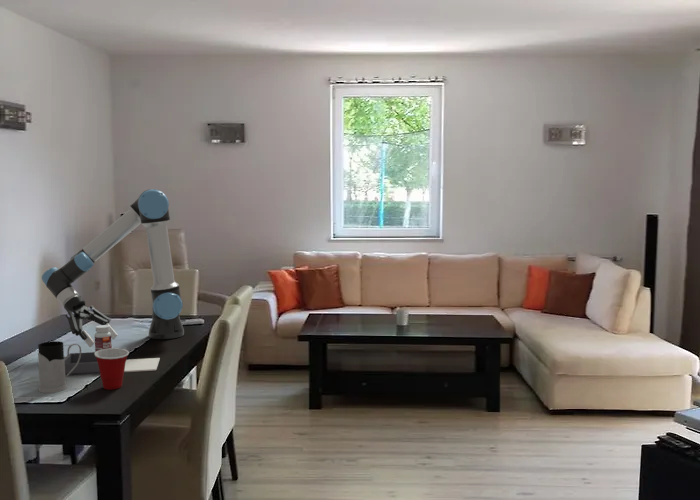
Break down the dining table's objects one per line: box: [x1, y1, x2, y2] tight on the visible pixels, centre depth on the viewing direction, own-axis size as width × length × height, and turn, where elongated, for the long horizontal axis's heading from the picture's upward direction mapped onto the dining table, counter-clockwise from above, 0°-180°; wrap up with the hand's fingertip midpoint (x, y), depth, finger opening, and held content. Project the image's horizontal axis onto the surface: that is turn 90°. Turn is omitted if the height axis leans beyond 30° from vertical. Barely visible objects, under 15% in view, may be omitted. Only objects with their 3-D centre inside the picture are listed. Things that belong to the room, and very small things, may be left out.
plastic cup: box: [94, 347, 130, 391], centre depth 226 cm, size 11×11×12 cm
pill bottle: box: [94, 324, 113, 352], centre depth 269 cm, size 6×6×11 cm
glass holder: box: [37, 340, 82, 394], centre depth 226 cm, size 9×14×15 cm, turn 134°
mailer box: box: [65, 351, 161, 376], centre depth 251 cm, size 32×16×4 cm, turn 101°
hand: (104, 341), depth 268 cm, fingers open, 13 cm apart
